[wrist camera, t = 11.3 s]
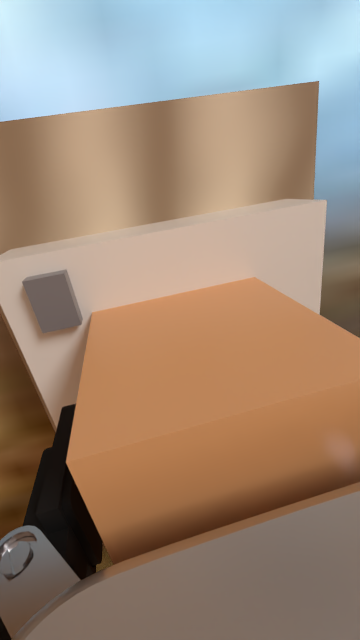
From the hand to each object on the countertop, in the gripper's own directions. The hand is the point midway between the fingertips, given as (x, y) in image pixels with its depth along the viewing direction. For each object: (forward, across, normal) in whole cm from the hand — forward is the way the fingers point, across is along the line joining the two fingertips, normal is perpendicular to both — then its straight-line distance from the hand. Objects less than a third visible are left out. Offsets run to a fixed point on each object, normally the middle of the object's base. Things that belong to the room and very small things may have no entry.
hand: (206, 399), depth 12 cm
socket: (+5, 0, 0) cm, 5 cm away
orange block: (+4, 0, 0) cm, 4 cm away
